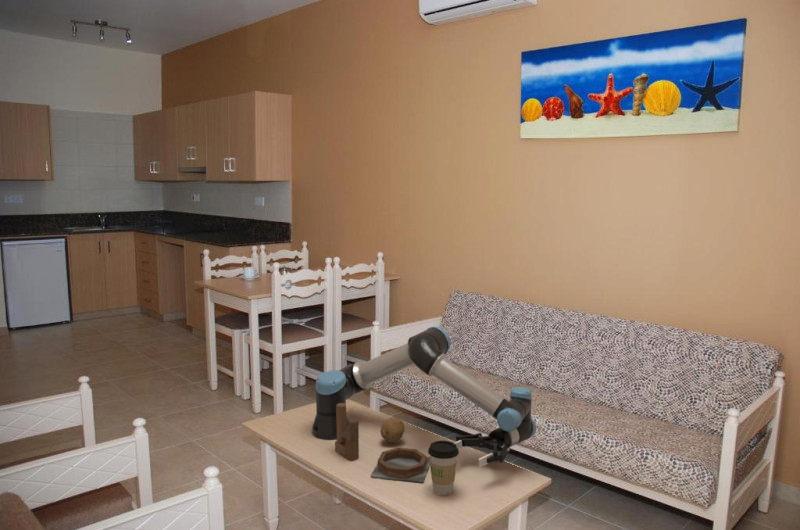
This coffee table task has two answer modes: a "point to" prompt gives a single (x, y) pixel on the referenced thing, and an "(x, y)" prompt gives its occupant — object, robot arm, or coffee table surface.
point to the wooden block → (346, 435)
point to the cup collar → (402, 465)
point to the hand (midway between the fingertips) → (463, 456)
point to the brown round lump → (392, 429)
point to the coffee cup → (443, 466)
